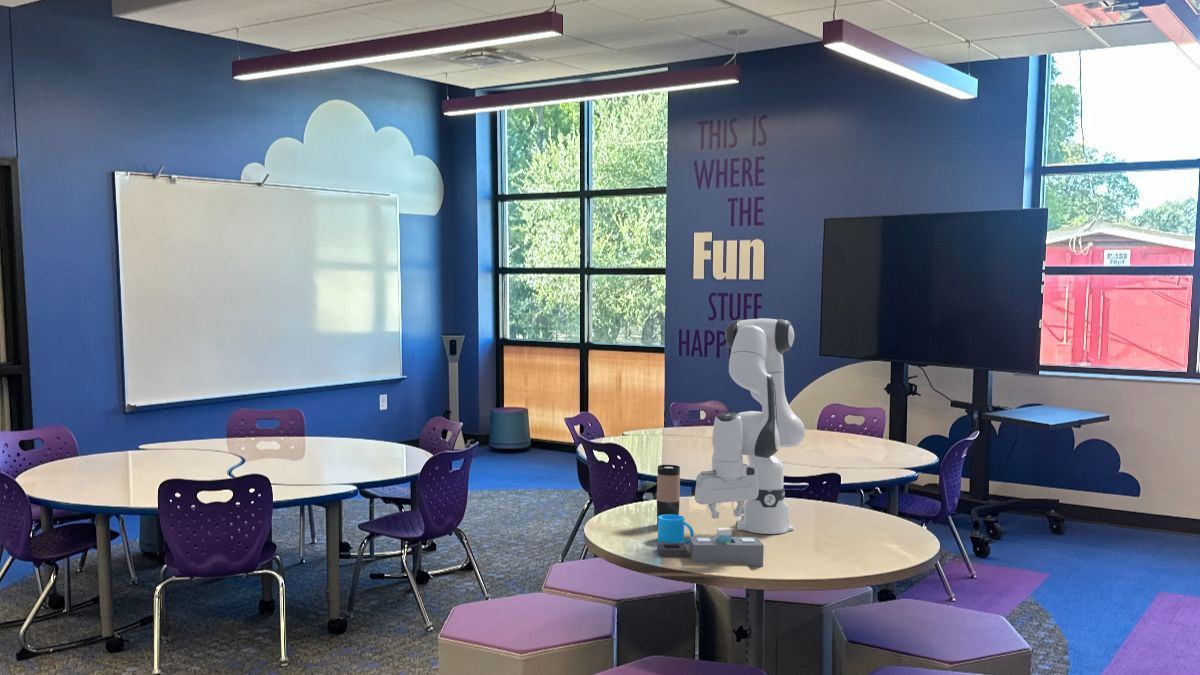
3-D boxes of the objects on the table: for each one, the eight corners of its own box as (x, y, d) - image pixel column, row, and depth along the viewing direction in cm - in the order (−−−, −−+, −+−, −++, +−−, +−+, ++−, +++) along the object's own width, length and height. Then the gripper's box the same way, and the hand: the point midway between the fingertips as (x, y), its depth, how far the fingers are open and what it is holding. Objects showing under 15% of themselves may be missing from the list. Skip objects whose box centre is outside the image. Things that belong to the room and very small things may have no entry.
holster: (656, 553, 288) (657, 543, 288) (683, 553, 288) (683, 543, 288) (659, 560, 280) (659, 549, 280) (687, 560, 280) (687, 550, 280)
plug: (716, 554, 281) (717, 527, 281) (728, 554, 281) (729, 527, 281) (718, 558, 278) (719, 530, 277) (731, 558, 278) (731, 530, 278)
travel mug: (680, 523, 327) (681, 465, 327) (678, 528, 320) (679, 468, 319) (657, 522, 329) (658, 464, 328) (655, 527, 321) (656, 467, 321)
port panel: (688, 556, 284) (689, 535, 284) (756, 557, 285) (756, 535, 285) (693, 565, 274) (693, 543, 274) (763, 566, 275) (763, 543, 275)
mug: (652, 543, 299) (653, 517, 299) (666, 538, 306) (666, 513, 306) (686, 550, 293) (687, 523, 292) (699, 544, 299) (700, 518, 299)
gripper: (702, 473, 271) (702, 522, 272) (762, 468, 281) (761, 516, 281) (690, 470, 277) (689, 517, 277) (749, 465, 286) (748, 511, 287)
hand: (726, 517), depth 279 cm, fingers open, 6 cm apart
